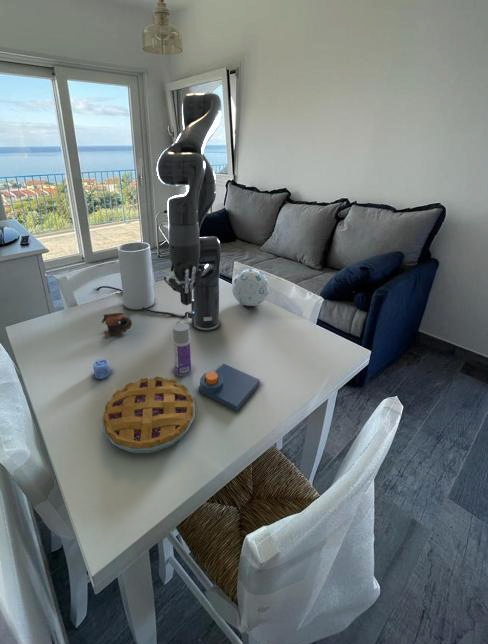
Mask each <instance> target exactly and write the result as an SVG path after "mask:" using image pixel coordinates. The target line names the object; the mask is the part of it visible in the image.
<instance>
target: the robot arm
mask: <svg viewBox="0 0 488 644" xmlns="http://www.w3.org/2000/svg"><path fill="white" fill-rule="evenodd" d="M181 108H182V109H181V110H182V111H181V113H182V126H183V129H182V130H181V131H180V133H179V135H178V137H177V139H176V141H175V142H174V143H173V144H171V145H170V146H168V148H166V149H165V150H164V151H163V152H162V153H161V154H160V157H158V158H159V159H158V161H157V166H156V172H157V176H158V179H159V180H160V182H161V183H162V184H164V185H166V186H175V187H177V186H178V187H179V186H181V187H182V186H183V187H184V186H185V187H186V192H185V193H184V194H179V195H174V196H172V197H170V198H168V200H167V217H168V219H167V220H168V229H167V238H168V239H167V241H168V254H169V255H168V256H169V260H170V262H171V266H170V273H169V274H168V276H167V275H165V276H164V277H163V281H164V282H165V283H166V284H167V285H168V286H169V287H170V288H171V289H172V291H174V292H176V293H179V294H180V295H179V296H180V303H181V304H182V305H184V306H185V307H186V306H189V305H190V308H191V309H190V310H189V311H185V312H184V315H178V314H175V313H172V312H168V311H159V310H152V309H149V308H142V309H141V310H143V311H146V312H148V313H152V314H153V313H154V314H159V315H160V314H161V315H168V316H173V317H175V318H176V317H177V318H181V319H184V318H188V319H191V325H193V326H194V327H195V329H197V330H199V331H205V332H206V331H213V330H216V329H217V328H218V327H219V326H220V277H221V276H220V274H221V257H222V247H221V241H220V240H219V237H217V236H212V235H211V236H201V235H200V232H201V231H200V230H201V227H202V225H203V222H204V220H205V218H206V216H207V215H208V213H209V212H210V210H211V208H212V206H213V205H214V203H215V200H216V198H217V178H216V173H215V171H214V168H213V167H212V166H211V165H212V164H210V162H209V160H208V159H207V157H206V156H205V153H204V152H205V150H206V146H207V144H208V142H209V140H210V139H211V138H212V136H214V134H215V133H216V131H217V130H218V128H219V127H220V124H221V121H222V116H223V108H222V100H221V98H220V96H219V95H218V94H216V93H214V92H205V93H204V92H203V93H186V94H185V95H184V97H183V99H182V107H181ZM200 236H201V237H200ZM100 289H111V290H114V291H119V292H121V293H122V294H123V290H122V288H117V287H115V286H108V285H102V286H101V285H100V286H99V287H98V288H96V291H99V290H100Z"/></svg>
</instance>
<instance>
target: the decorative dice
mask: <svg viewBox="0 0 488 644" xmlns="http://www.w3.org/2000/svg"><path fill="white" fill-rule="evenodd" d="M92 366H93V374H94V377H95V378H96V379H97V380H103V379H105V378H108V377H109V376H110V365H109V360H107V359H105V358H100V359H97V360H96V361H94V362H93V364H92Z"/></svg>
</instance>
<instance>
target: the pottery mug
mask: <svg viewBox="0 0 488 644" xmlns="http://www.w3.org/2000/svg"><path fill="white" fill-rule="evenodd" d="M101 324H105V325H106V327H107V330H104V332H103V333H104V337H105V338H117V337H122V336H123V333H126V332H127V331H128V330H129V329H131V327H132V324H133V321H132V319H131V318H130V317H127V316H126V314H125V312H123V311H122V312H113V313H105V314H103V317H102V320H101Z"/></svg>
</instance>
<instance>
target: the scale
mask: <svg viewBox="0 0 488 644" xmlns="http://www.w3.org/2000/svg"><path fill="white" fill-rule="evenodd" d="M214 372H215V373H216V374H217V375H218V382H217V383H216V384H214V385H209V384H207V383H206V374H207V373H208V372H206V373H204V374H202V375H201V376H200V379H199V386H198V392H199V393H201V394H203V395H204V396H206V397H209V399H212V400H214V401H216V402H218V403H220V404H221V405H223V406H226V407H227V408H229V409H230V410H232V411H234V412H238V411H239V410H240V409H241V407H242V406H243V405H244V404H245V403H246V401H247V400H248V399H249V398H250V397H251V396H252V394H253V393H254V392H255V390H256V389H257V388H258V387H259V386H260V383H261V382H260V381H261V380H260V379H259V378H257V377H255V376H252V375H250V374H249V373H246V372H244V371H241V370H239V369H237V368H234V367H232V366H230V365H228V364H225V363H222V364H221V365H220V366H219V367H218V368H217V369H216V370H214Z"/></svg>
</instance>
